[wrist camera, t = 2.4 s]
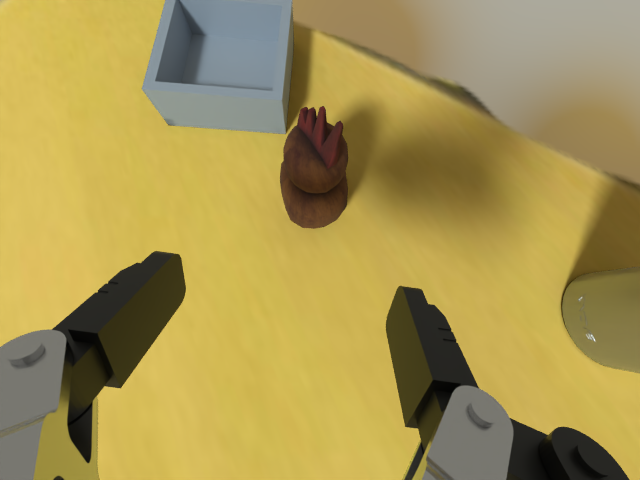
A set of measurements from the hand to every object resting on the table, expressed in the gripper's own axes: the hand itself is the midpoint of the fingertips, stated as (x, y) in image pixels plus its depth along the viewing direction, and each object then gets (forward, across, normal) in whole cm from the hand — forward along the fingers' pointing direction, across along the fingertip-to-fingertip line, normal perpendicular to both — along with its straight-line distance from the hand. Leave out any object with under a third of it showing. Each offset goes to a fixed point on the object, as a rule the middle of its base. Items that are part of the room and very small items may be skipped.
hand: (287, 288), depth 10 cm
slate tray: (+28, +11, -6) cm, 31 cm away
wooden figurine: (+19, 0, +5) cm, 19 cm away
